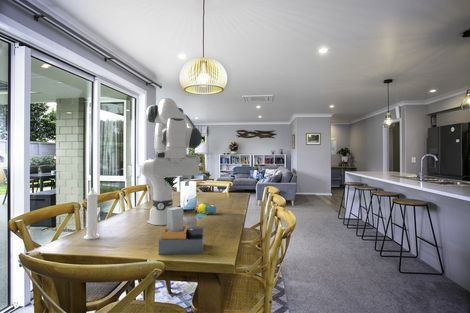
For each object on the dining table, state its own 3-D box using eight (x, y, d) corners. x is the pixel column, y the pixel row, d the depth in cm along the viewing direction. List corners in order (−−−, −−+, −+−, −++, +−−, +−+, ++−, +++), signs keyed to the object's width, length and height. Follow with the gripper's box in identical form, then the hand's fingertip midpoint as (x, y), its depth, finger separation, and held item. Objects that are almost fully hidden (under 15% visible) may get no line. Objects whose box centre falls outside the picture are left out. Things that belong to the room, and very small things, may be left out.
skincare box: (177, 233, 116) (177, 206, 116) (183, 234, 113) (183, 207, 113) (166, 236, 111) (166, 208, 111) (172, 238, 108) (172, 209, 108)
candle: (85, 236, 129) (85, 186, 129) (100, 234, 132) (101, 186, 132) (82, 240, 123) (82, 188, 123) (98, 238, 125) (99, 187, 125)
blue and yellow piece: (200, 199, 198) (219, 200, 195) (200, 210, 198) (219, 211, 195) (189, 205, 170) (211, 207, 168) (188, 218, 170) (211, 220, 168)
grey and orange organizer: (164, 244, 117) (164, 225, 117) (203, 244, 119) (203, 224, 119) (158, 254, 105) (158, 232, 105) (202, 253, 107) (202, 232, 107)
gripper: (200, 154, 116) (200, 184, 116) (154, 154, 114) (154, 184, 114) (199, 154, 110) (199, 186, 110) (151, 153, 108) (150, 186, 108)
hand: (176, 185), depth 112 cm, fingers open, 8 cm apart
